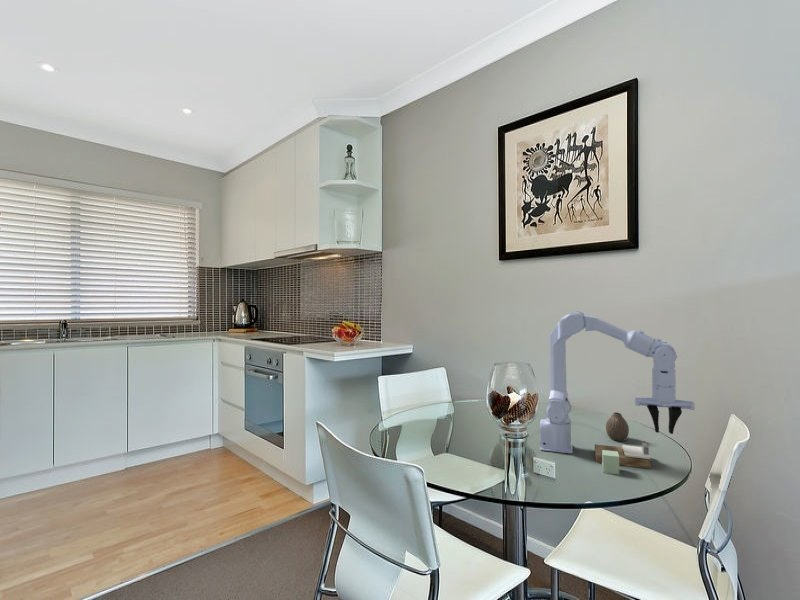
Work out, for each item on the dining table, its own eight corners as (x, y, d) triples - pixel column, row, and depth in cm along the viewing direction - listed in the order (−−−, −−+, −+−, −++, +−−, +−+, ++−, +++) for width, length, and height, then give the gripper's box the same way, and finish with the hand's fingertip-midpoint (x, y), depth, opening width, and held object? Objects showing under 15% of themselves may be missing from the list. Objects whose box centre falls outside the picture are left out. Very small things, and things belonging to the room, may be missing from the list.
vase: (631, 443, 143) (631, 416, 142) (609, 442, 144) (608, 415, 144) (625, 436, 149) (625, 410, 149) (603, 435, 151) (603, 410, 150)
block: (603, 472, 121) (603, 454, 121) (602, 467, 125) (602, 449, 125) (619, 474, 120) (619, 456, 119) (617, 469, 123) (617, 451, 123)
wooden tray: (596, 462, 128) (596, 454, 128) (594, 451, 136) (594, 444, 136) (650, 468, 123) (650, 460, 123) (645, 456, 131) (645, 449, 131)
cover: (624, 456, 126) (624, 447, 126) (622, 446, 133) (622, 438, 133) (650, 459, 123) (650, 450, 123) (645, 449, 131) (645, 441, 131)
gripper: (637, 386, 124) (637, 433, 124) (697, 390, 119) (697, 439, 119) (633, 381, 130) (633, 426, 131) (690, 384, 125) (690, 431, 125)
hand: (663, 432), depth 125 cm, fingers open, 3 cm apart
